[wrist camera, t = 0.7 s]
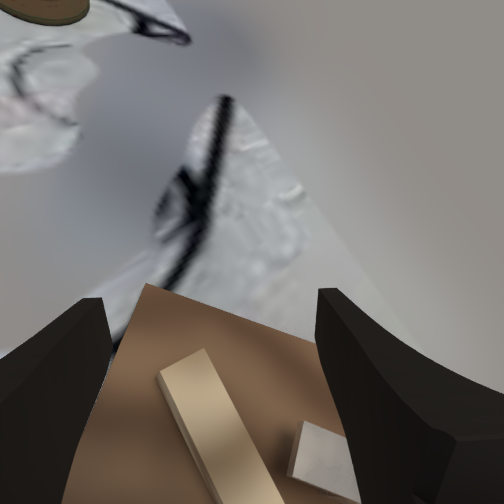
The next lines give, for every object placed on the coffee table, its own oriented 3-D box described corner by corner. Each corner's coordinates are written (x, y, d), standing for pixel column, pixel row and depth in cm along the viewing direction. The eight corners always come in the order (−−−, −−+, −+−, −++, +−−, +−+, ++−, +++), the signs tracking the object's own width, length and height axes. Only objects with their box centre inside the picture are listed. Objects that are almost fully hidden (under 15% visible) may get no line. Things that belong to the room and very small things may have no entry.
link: (312, 581, 22) (340, 597, 19) (272, 624, 20) (297, 648, 18) (196, 355, 25) (208, 343, 23) (155, 377, 24) (162, 367, 21)
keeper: (345, 504, 25) (380, 511, 22) (267, 473, 24) (292, 476, 21) (352, 454, 26) (385, 454, 23) (279, 424, 25) (304, 420, 22)
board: (337, 676, 21) (346, 685, 20) (4, 621, 18) (0, 629, 17) (357, 363, 31) (364, 361, 30) (144, 288, 27) (145, 283, 27)
